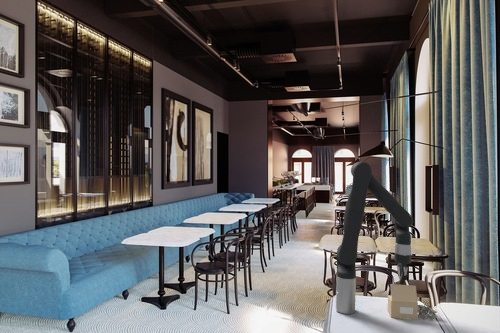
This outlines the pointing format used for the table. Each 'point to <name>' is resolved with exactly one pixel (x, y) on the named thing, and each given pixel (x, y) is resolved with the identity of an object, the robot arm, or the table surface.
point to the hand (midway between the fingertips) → (401, 287)
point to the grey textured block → (423, 311)
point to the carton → (402, 309)
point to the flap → (403, 293)
